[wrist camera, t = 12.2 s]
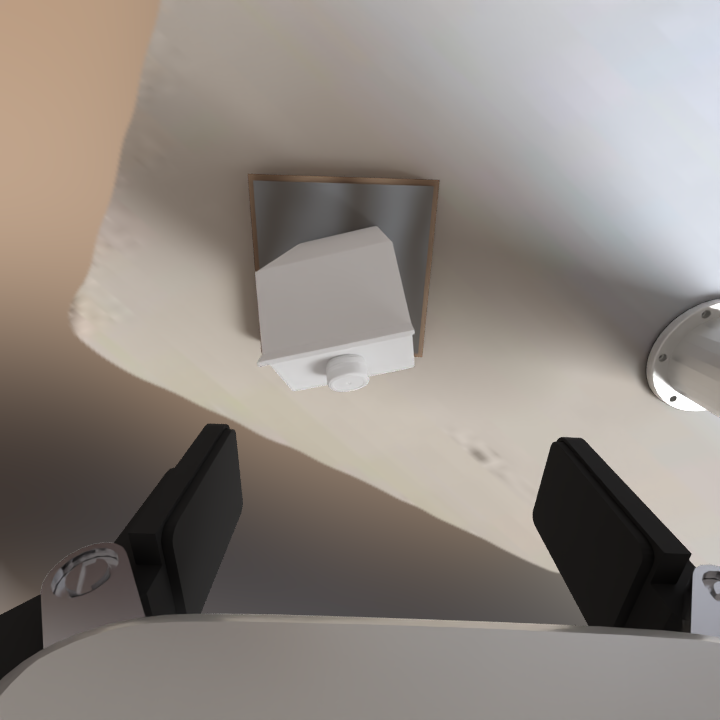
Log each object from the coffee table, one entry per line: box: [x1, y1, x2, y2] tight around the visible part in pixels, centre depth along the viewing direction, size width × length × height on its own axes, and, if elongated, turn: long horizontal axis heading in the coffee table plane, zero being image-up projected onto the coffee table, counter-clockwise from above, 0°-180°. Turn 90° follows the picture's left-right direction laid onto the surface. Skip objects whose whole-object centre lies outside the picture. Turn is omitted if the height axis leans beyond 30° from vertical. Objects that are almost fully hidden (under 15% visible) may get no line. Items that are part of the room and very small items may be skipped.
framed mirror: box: [248, 174, 439, 357], centre depth 35 cm, size 16×16×3 cm
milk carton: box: [255, 226, 415, 392], centre depth 25 cm, size 7×7×19 cm
